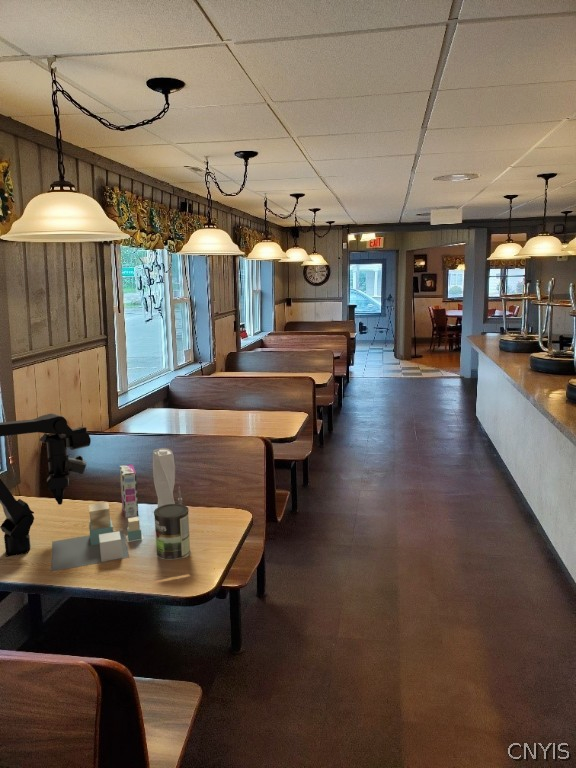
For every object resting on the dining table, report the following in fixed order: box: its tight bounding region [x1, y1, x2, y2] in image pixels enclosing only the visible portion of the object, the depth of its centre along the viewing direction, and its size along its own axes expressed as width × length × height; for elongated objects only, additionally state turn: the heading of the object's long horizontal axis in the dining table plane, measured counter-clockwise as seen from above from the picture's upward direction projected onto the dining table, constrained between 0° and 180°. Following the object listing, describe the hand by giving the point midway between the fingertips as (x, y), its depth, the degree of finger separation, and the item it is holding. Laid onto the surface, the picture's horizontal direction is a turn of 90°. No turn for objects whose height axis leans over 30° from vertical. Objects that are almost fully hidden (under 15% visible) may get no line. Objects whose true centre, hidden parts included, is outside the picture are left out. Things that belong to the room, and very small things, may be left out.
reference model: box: [125, 516, 144, 543], centre depth 189 cm, size 5×5×7 cm
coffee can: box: [153, 503, 191, 561], centre depth 178 cm, size 10×10×14 cm
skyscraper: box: [152, 447, 183, 508], centre depth 198 cm, size 8×8×28 cm
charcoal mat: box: [50, 529, 130, 572], centre depth 182 cm, size 22×21×1 cm
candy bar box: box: [119, 464, 139, 519], centre depth 210 cm, size 11×5×16 cm, turn 21°
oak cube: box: [88, 501, 111, 530], centre depth 187 cm, size 6×6×6 cm
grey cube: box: [99, 530, 122, 562], centre depth 177 cm, size 6×6×6 cm
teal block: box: [88, 518, 114, 545], centre depth 188 cm, size 7×7×5 cm
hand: (61, 499), depth 191 cm, fingers open, 9 cm apart
